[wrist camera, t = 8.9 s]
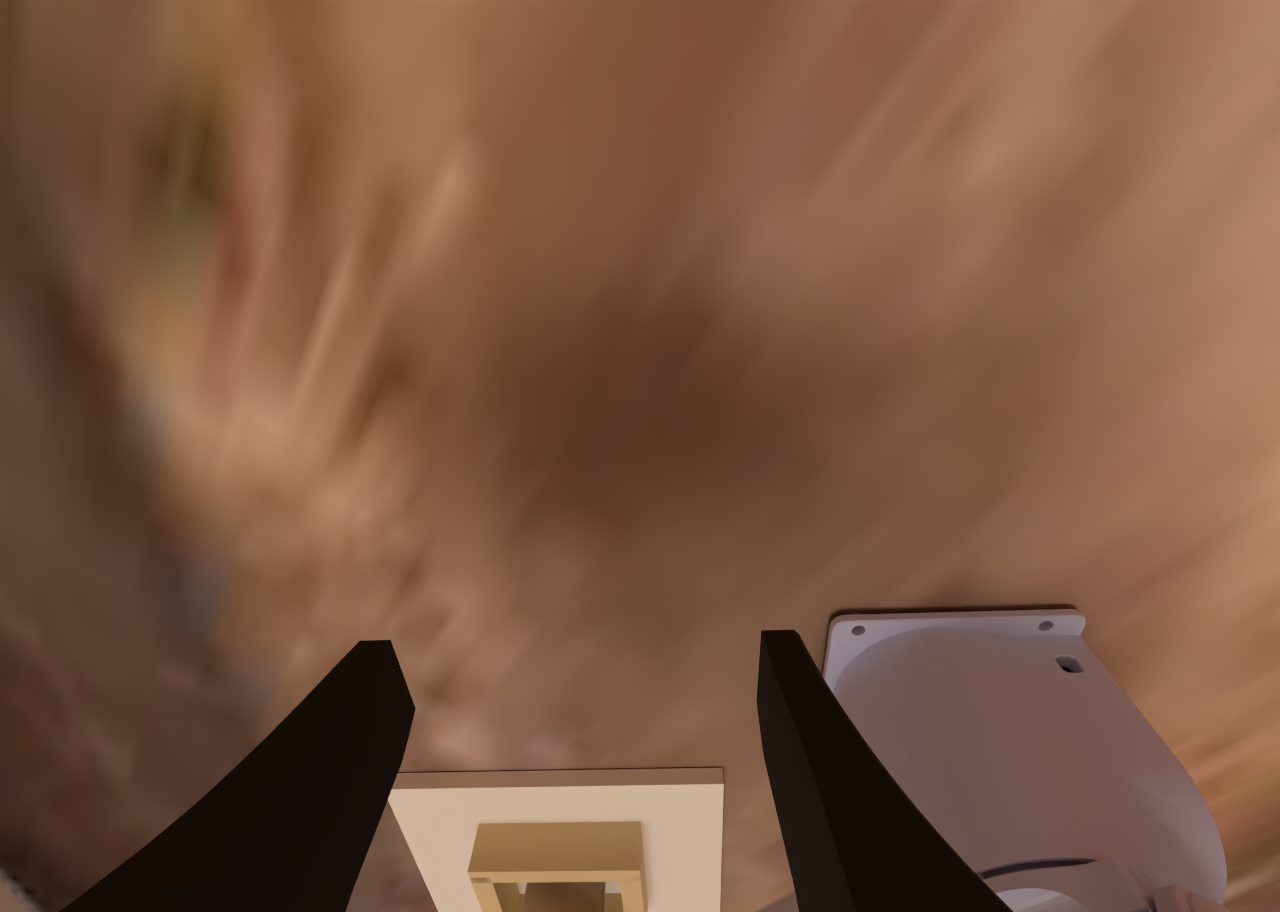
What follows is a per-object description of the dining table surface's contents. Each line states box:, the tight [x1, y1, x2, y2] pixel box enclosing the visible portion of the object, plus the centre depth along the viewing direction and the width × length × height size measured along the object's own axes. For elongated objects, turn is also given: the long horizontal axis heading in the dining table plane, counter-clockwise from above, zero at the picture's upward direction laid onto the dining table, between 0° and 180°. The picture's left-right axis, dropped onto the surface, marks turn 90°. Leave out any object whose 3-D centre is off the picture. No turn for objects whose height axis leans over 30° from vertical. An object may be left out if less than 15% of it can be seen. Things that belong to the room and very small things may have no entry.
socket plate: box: [388, 768, 724, 912], centre depth 32 cm, size 16×14×3 cm
